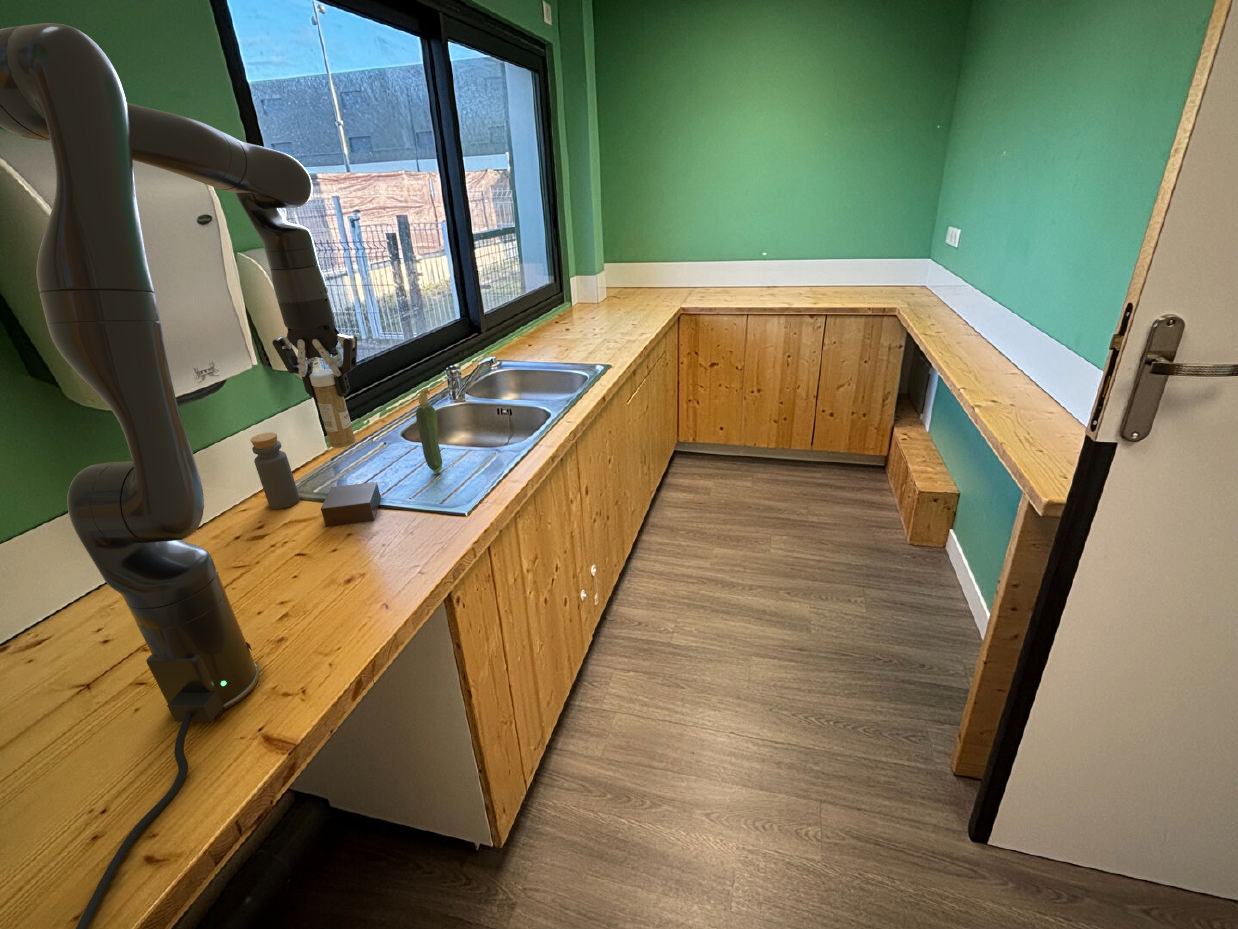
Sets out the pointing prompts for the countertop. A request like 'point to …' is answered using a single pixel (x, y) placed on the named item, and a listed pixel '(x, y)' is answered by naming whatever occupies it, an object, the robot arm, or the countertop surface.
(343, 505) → the block
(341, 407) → the sprinkles bottle
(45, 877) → the countertop surface
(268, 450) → the bottle
